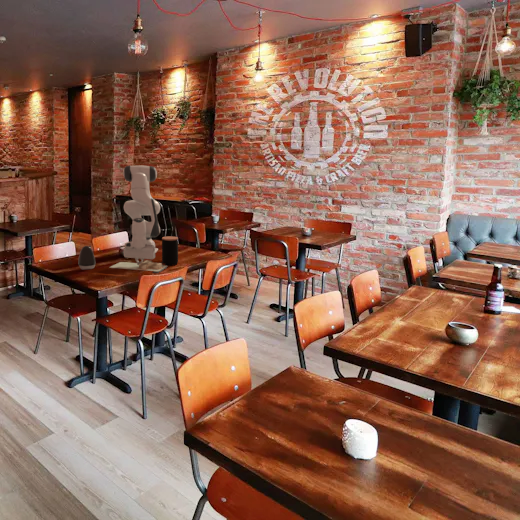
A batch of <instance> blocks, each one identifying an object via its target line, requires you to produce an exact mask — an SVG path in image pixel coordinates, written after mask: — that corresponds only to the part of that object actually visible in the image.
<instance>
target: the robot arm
mask: <svg viewBox="0 0 520 520" xmlns="http://www.w3.org/2000/svg"><path fill="white" fill-rule="evenodd" d="M122 175H123V178H124V179H125V181H126V182H129V183H130V182H131V184H130V195H131V198H132V200H127V201H125V202H124V204H123V210H124V211H123V212H124V213H125V215H126V214H127V215H128V216H129V217H130V218H131V220H132V224H130V234H131V235H132V237H131V240H130V241H127V242H126V243H124V249H123V256H124V258H131V259H135V263H137V265H139V264H141V263H142V262H144V261H145V260H154V259H155V258H156V253H157V252H158V251H159V248H157V247H156V243H155V241H154V240H153V239H152V238H157V237H158V236H159V235H160V234H161V227H160V224H159V221H158V214H159V213H160V212H161V205H160V203H159V202H158V201H157V200H156V199H154V198H153V197H152V195H151V192H150V183H152V182H155V181H156V179H157V177H158V171H157V169H156V167H155V166H152V165H150V166H149V165H144V164H143V165H141V164H140V165H126V166H125V167H124V168H123V171H122ZM142 216H150V218H151V221H148V220H145V218H142ZM139 260H141V261H139Z"/></svg>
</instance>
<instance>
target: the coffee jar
mask: <svg viewBox="0 0 520 520" xmlns="http://www.w3.org/2000/svg"><path fill="white" fill-rule="evenodd" d="M178 240H179V237H178V236H167V235H166V236H163V237H162V238H161V263H162V264H164V265H166V266H176V265H178V263H179V241H178Z"/></svg>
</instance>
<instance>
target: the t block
mask: <svg viewBox="0 0 520 520" xmlns="http://www.w3.org/2000/svg"><path fill="white" fill-rule="evenodd" d="M162 265H163V263H162V262H156V261H155V262H153V260H150V259H145V260H143V262H142V263H141V264H139V269H147V268H153V269H160V268H162Z"/></svg>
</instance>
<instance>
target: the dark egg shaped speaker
mask: <svg viewBox="0 0 520 520" xmlns="http://www.w3.org/2000/svg"><path fill="white" fill-rule="evenodd" d="M93 251H94V250H92V247H91V245H85V246H83V247H82V248H81V249H80V251H79V256H78V263H77V265H78V266H79V269H80V270H82V271H83V270H92V269H94V268H95V266H96V263H97V262H96V257H95V254H94V252H93Z"/></svg>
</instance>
